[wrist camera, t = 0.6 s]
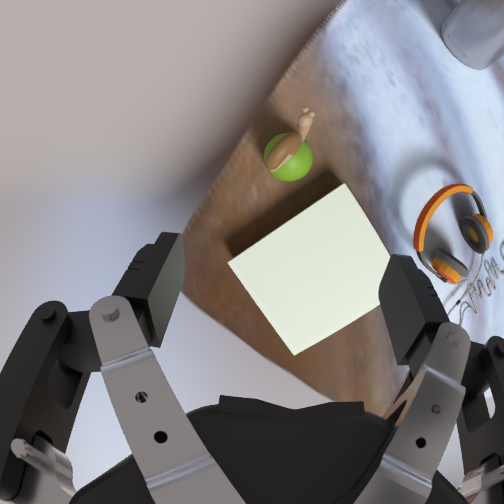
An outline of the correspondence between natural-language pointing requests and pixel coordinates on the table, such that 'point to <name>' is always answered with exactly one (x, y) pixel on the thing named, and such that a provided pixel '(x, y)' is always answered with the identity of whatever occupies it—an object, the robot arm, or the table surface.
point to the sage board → (315, 270)
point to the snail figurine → (290, 151)
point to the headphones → (473, 232)
